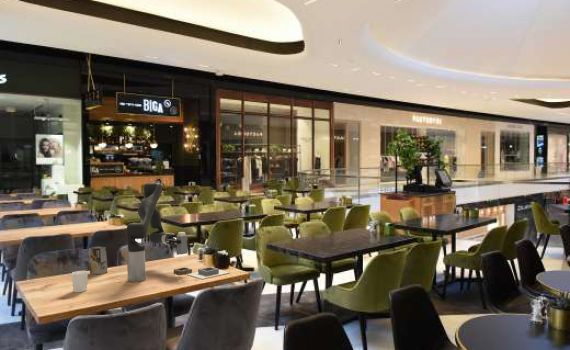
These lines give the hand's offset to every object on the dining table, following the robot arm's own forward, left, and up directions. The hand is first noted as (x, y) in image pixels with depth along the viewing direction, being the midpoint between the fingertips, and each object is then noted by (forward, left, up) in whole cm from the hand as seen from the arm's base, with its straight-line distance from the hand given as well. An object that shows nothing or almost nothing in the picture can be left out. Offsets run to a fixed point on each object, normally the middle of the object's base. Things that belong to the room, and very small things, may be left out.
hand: (184, 241), depth 288 cm
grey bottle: (0, +3, -8) cm, 8 cm away
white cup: (-60, +9, -20) cm, 64 cm away
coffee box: (-36, +43, -20) cm, 59 cm away
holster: (0, +3, -19) cm, 20 cm away
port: (+8, -13, -19) cm, 25 cm away
